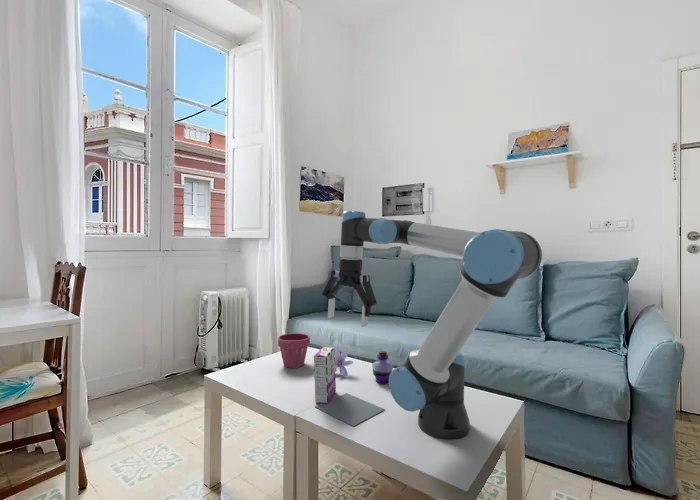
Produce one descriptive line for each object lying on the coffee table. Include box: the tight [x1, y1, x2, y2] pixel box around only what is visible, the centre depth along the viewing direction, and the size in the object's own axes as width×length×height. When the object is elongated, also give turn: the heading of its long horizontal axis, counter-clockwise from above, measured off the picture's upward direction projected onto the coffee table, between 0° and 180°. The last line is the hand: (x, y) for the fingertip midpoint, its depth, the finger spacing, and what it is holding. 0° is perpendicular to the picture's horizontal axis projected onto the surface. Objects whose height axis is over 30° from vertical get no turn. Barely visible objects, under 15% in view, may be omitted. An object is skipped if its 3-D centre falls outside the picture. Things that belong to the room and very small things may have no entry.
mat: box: [314, 392, 386, 427], centre depth 119 cm, size 18×15×1 cm
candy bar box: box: [313, 346, 337, 404], centre depth 127 cm, size 11×5×16 cm, turn 168°
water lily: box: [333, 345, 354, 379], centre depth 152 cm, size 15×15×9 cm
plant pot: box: [277, 332, 311, 369], centre depth 162 cm, size 14×14×13 cm
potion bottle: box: [371, 350, 394, 385], centre depth 142 cm, size 9×9×12 cm
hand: (347, 321), depth 119 cm, fingers open, 13 cm apart
